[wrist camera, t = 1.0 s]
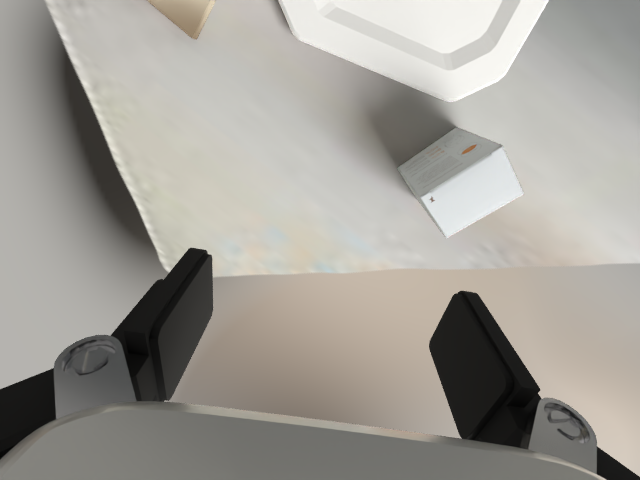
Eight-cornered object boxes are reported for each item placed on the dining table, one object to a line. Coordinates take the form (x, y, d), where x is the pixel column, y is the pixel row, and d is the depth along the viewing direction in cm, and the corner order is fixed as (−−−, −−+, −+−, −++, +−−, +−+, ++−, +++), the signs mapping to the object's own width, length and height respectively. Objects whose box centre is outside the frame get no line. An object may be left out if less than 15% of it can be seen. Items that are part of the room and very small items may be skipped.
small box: (417, 200, 38) (444, 241, 29) (395, 166, 36) (417, 198, 27) (477, 163, 36) (527, 195, 27) (457, 125, 34) (504, 144, 25)
